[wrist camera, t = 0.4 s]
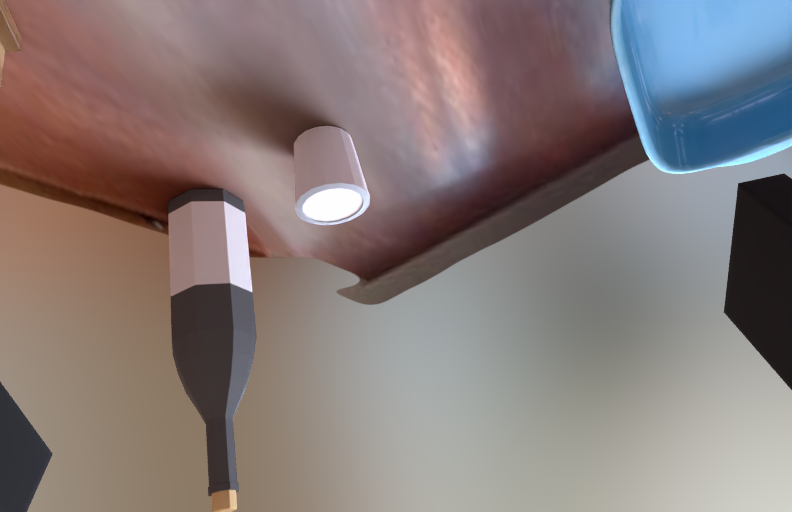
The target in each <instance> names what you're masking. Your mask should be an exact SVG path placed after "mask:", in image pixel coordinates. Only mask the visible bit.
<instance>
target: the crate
mask: <svg viewBox="0 0 792 512" xmlns="http://www.w3.org/2000/svg"><path fill="white" fill-rule="evenodd" d="M21 46H22V37H21V35H20V33H19V31H18V28H17V26H16V24H15V22H14V20H13V18H12V15H11V13H10V11H9V9H8V7H7V5H6V2H5V0H0V86H1V78H2V70H3V63H4V55H5V51H21Z"/></svg>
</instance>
